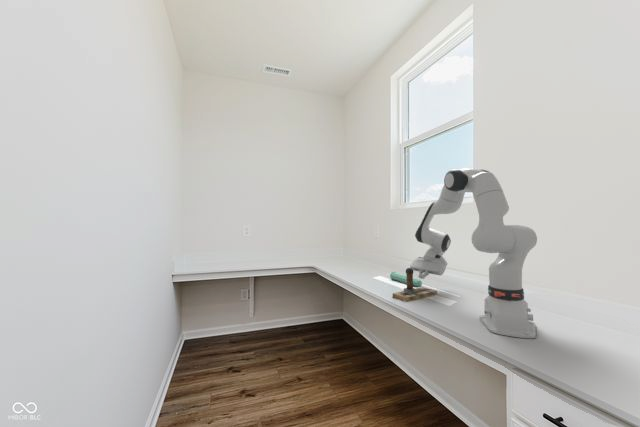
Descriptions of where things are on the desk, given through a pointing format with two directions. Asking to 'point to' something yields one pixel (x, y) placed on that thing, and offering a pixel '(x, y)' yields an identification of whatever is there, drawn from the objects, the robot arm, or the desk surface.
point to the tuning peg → (410, 282)
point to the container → (405, 279)
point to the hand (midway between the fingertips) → (420, 277)
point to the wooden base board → (421, 294)
